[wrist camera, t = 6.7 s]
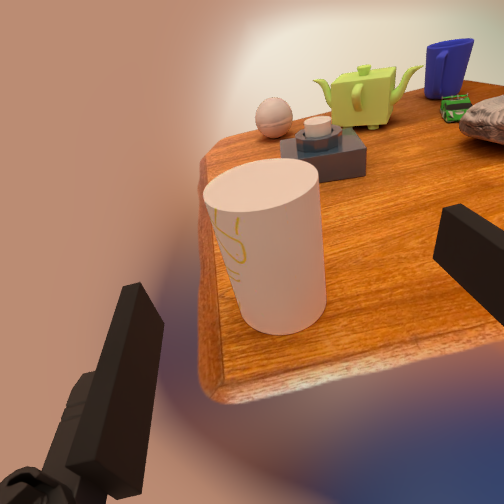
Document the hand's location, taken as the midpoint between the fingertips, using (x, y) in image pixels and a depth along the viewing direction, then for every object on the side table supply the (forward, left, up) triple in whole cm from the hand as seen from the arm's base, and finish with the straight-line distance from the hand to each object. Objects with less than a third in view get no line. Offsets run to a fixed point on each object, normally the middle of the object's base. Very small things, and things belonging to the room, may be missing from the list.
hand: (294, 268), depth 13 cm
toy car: (+32, +53, -12) cm, 63 cm away
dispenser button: (+5, +38, -6) cm, 38 cm away
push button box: (+5, +38, -12) cm, 40 cm away
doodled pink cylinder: (-2, +10, -12) cm, 16 cm away
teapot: (+16, +57, -12) cm, 60 cm away
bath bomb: (-2, +59, -12) cm, 60 cm away
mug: (+34, +65, -12) cm, 74 cm away
